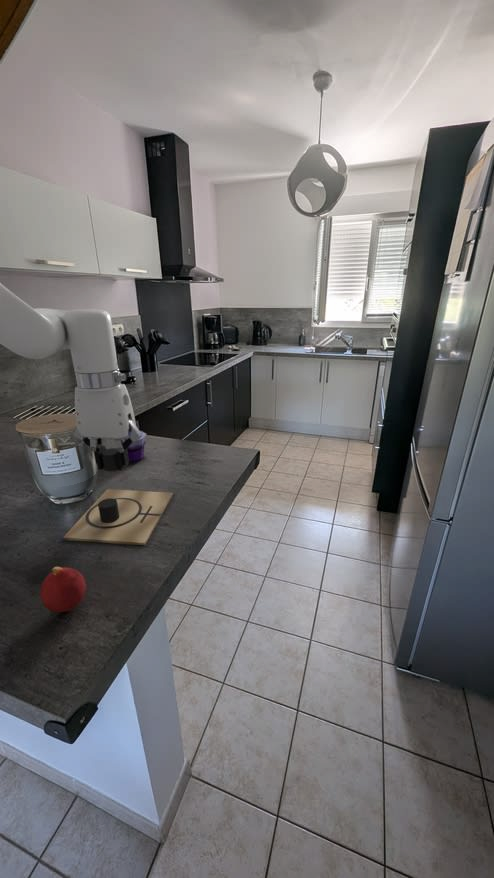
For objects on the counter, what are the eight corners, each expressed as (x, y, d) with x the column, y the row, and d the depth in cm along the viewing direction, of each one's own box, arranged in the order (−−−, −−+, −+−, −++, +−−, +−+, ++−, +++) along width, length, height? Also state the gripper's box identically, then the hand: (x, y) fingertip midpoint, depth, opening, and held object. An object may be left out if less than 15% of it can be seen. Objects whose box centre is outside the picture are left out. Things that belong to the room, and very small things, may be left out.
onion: (73, 588, 56) (63, 547, 53) (97, 603, 54) (88, 561, 51) (38, 615, 52) (24, 572, 49) (62, 632, 49) (50, 588, 46)
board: (63, 539, 67) (62, 537, 67) (107, 491, 84) (107, 488, 84) (144, 545, 66) (144, 542, 66) (173, 494, 82) (173, 492, 82)
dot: (97, 522, 71) (94, 507, 70) (105, 512, 75) (103, 497, 73) (114, 523, 71) (112, 508, 70) (122, 513, 74) (120, 498, 73)
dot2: (101, 471, 72) (98, 455, 70) (109, 463, 75) (106, 447, 74) (118, 471, 71) (115, 455, 70) (125, 464, 75) (123, 448, 73)
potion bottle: (110, 461, 99) (104, 420, 94) (132, 450, 106) (127, 411, 101) (134, 467, 95) (128, 425, 91) (155, 455, 102) (151, 416, 98)
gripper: (148, 375, 69) (158, 460, 76) (68, 374, 70) (84, 458, 77) (133, 385, 62) (145, 477, 69) (44, 383, 64) (65, 474, 71)
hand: (113, 466), depth 73 cm, fingers closed on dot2, 3 cm apart
